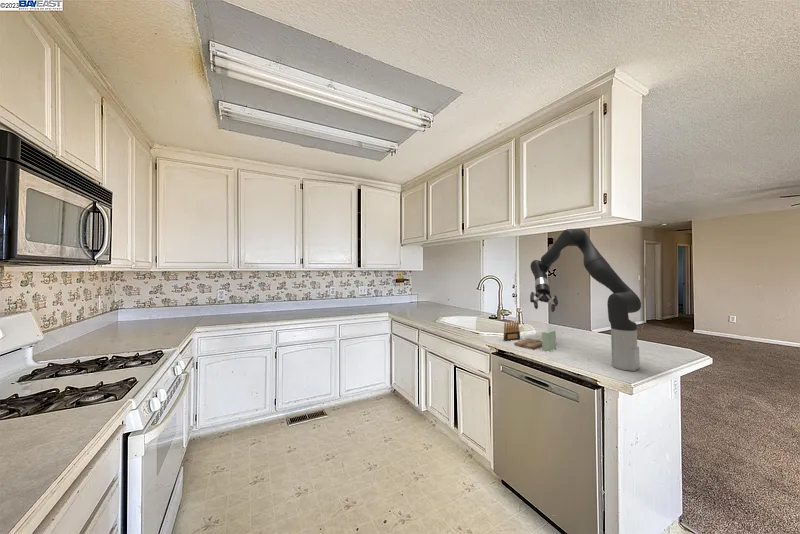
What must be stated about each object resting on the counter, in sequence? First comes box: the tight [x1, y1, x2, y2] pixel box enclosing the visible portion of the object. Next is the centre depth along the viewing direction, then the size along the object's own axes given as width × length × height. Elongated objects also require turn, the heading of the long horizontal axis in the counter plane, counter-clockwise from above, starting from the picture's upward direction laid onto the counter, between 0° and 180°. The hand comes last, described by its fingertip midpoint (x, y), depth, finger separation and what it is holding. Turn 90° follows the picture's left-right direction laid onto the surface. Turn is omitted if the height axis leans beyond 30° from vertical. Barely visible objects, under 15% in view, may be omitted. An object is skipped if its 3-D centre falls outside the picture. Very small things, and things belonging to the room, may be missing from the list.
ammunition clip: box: [503, 320, 521, 342], centre depth 183 cm, size 11×2×12 cm, turn 105°
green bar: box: [541, 329, 557, 352], centre depth 161 cm, size 3×8×10 cm, turn 125°
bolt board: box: [513, 338, 542, 351], centre depth 171 cm, size 12×15×2 cm
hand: (544, 309), depth 164 cm, fingers open, 8 cm apart
